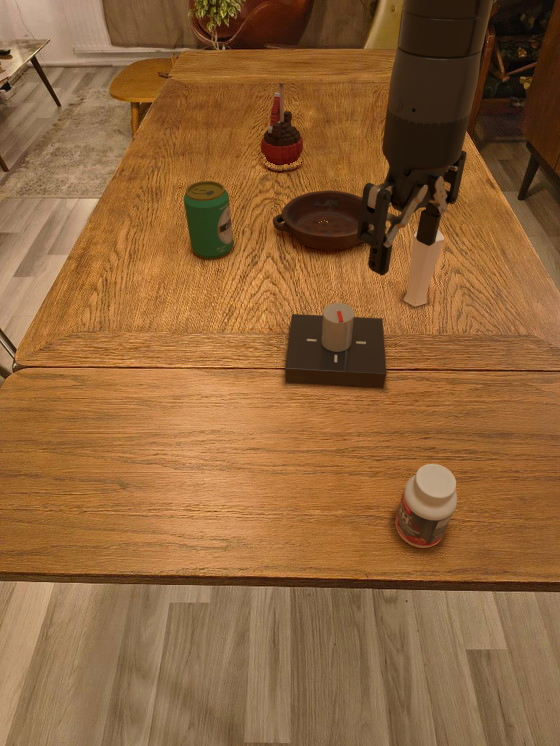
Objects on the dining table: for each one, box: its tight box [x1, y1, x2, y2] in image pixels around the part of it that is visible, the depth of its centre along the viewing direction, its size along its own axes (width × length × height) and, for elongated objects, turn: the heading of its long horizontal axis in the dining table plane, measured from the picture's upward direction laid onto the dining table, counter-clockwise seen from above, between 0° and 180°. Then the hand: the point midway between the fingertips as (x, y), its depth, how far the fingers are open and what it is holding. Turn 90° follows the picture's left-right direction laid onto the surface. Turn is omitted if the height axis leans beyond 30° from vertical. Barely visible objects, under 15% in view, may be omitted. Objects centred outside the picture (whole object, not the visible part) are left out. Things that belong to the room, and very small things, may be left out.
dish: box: [272, 189, 387, 251], centre depth 100 cm, size 18×22×5 cm
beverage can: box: [182, 180, 234, 260], centre depth 94 cm, size 8×8×12 cm
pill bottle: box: [395, 463, 458, 549], centre depth 54 cm, size 5×5×10 cm
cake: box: [260, 81, 304, 172], centre depth 118 cm, size 11×9×18 cm
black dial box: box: [284, 313, 387, 389], centre depth 76 cm, size 14×12×3 cm
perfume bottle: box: [402, 228, 446, 308], centre depth 81 cm, size 5×4×15 cm
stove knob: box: [321, 302, 355, 352], centre depth 73 cm, size 4×4×6 cm
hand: (402, 256), depth 59 cm, fingers open, 8 cm apart
